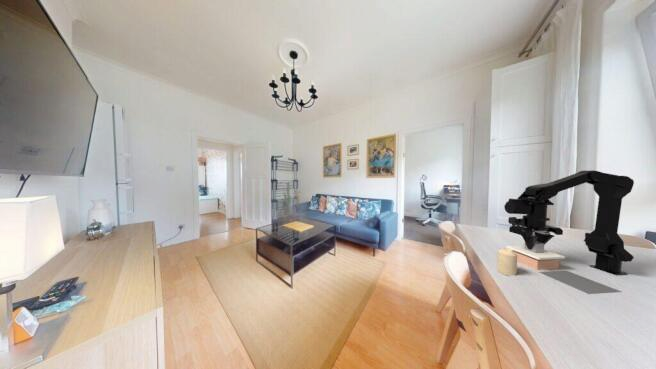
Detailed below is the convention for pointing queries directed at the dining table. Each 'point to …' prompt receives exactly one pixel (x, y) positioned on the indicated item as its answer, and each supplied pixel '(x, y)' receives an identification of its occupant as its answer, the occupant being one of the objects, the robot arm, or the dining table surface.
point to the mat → (579, 282)
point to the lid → (536, 251)
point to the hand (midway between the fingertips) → (533, 249)
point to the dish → (537, 262)
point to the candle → (507, 262)
